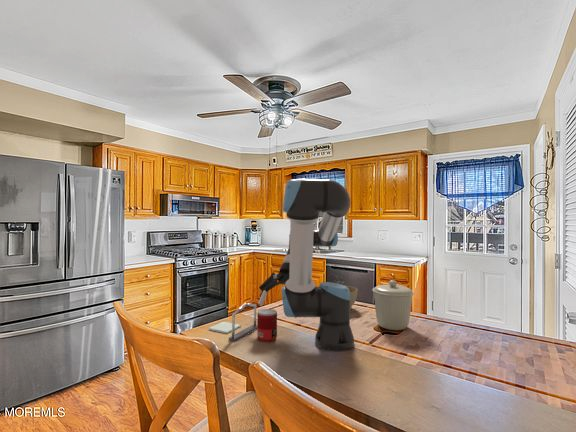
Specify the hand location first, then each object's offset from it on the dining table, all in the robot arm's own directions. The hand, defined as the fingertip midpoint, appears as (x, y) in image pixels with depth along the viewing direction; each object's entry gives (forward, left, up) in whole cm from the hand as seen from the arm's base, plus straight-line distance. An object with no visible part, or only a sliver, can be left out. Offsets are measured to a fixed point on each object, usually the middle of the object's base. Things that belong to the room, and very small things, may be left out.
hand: (273, 306), depth 137 cm
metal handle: (+10, +6, -11) cm, 17 cm away
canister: (-44, -33, -11) cm, 56 cm away
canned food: (-1, +6, -11) cm, 13 cm away
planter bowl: (-15, -50, -11) cm, 53 cm away
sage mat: (+22, +5, -11) cm, 25 cm away
